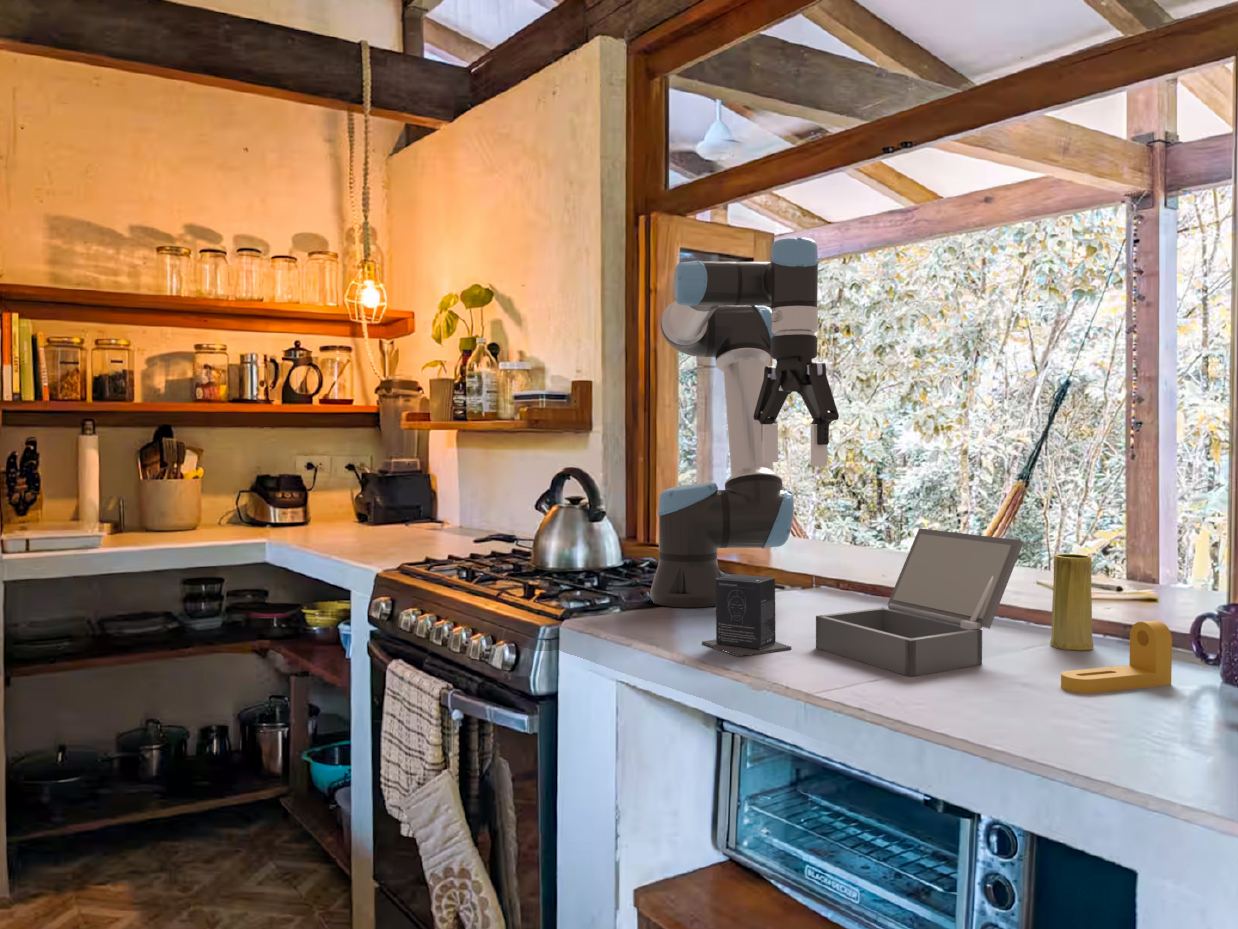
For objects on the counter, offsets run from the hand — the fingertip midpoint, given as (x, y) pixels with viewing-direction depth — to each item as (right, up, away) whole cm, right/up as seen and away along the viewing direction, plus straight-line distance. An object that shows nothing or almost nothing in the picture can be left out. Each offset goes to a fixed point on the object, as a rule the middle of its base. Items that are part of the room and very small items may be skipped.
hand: (793, 464), depth 156 cm
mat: (-9, -29, -7) cm, 31 cm away
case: (+17, -29, -12) cm, 35 cm away
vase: (+42, -29, -9) cm, 51 cm away
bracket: (+37, -30, -31) cm, 56 cm away
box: (-9, -29, -7) cm, 31 cm away
